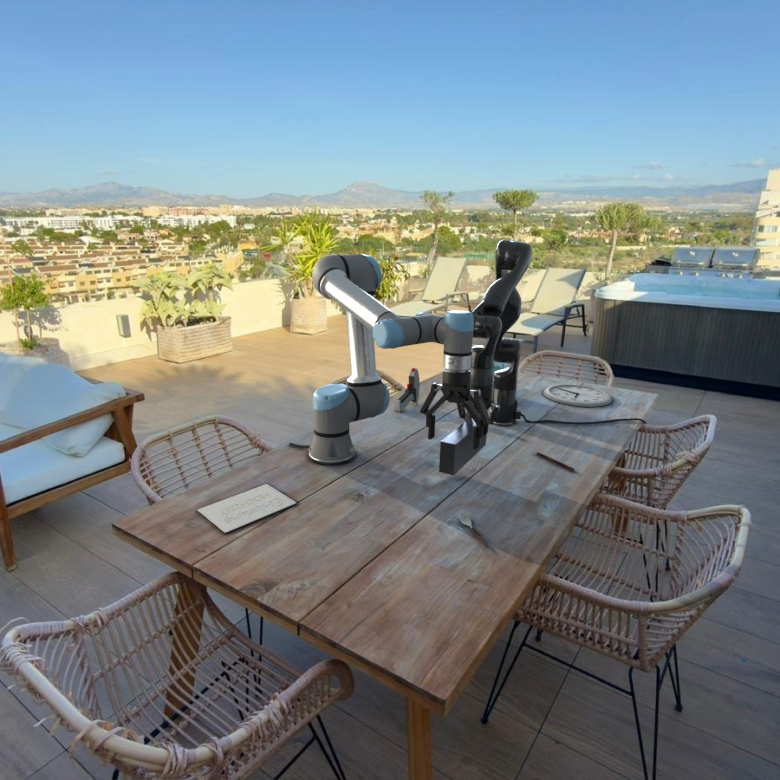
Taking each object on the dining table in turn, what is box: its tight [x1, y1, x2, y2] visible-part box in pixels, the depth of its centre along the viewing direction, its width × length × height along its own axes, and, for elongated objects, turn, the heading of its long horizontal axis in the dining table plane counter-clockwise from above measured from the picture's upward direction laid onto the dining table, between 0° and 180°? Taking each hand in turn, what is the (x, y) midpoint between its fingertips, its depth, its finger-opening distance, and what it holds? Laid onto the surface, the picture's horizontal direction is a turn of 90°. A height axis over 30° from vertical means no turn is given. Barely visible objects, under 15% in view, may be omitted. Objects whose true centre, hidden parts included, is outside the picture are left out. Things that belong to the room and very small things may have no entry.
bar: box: [438, 417, 488, 476], centre depth 155 cm, size 25×4×9 cm, turn 149°
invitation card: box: [196, 483, 297, 534], centre depth 141 cm, size 21×1×15 cm
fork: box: [457, 509, 489, 549], centre depth 131 cm, size 3×16×2 cm, turn 15°
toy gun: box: [394, 367, 421, 413], centre depth 219 cm, size 2×16×15 cm
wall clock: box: [543, 384, 613, 408], centre depth 240 cm, size 30×2×30 cm
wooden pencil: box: [535, 451, 575, 472], centre depth 171 cm, size 15×1×1 cm, turn 34°
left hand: (453, 442), depth 146 cm, fingers open, 13 cm apart
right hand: (476, 433), depth 162 cm, fingers closed on bar, 4 cm apart
